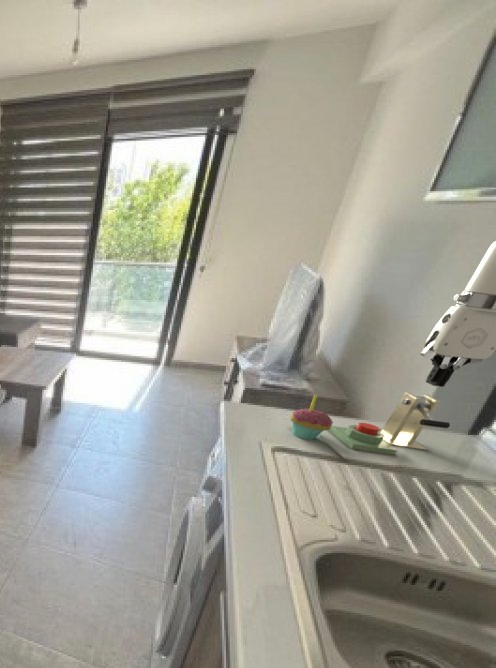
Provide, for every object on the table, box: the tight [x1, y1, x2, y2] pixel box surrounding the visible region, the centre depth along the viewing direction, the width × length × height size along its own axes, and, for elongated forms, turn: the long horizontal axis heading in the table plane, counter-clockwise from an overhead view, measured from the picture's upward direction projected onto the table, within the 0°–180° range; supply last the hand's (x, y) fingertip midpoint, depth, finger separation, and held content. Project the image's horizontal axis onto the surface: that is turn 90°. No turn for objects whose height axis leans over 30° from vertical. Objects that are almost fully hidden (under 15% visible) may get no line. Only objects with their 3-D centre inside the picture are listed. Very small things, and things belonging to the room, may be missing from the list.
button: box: [356, 422, 380, 436], centre depth 120 cm, size 4×4×2 cm
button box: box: [329, 424, 397, 456], centre depth 121 cm, size 11×9×4 cm
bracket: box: [379, 392, 441, 451], centre depth 122 cm, size 10×8×13 cm
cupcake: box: [289, 391, 334, 440], centre depth 123 cm, size 9×8×12 cm
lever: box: [415, 395, 451, 429], centre depth 117 cm, size 10×5×2 cm, turn 163°
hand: (434, 384), depth 109 cm, fingers closed
